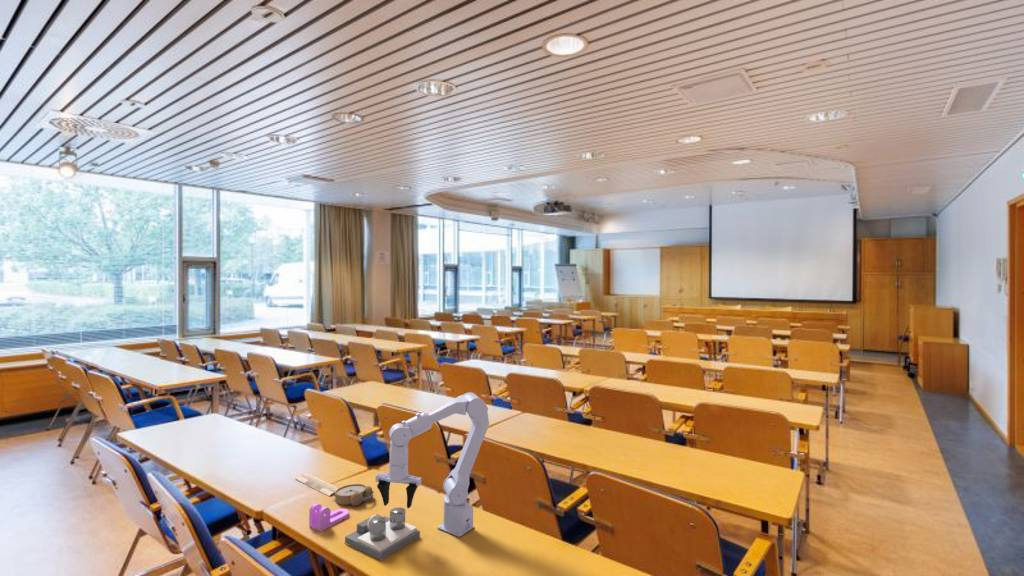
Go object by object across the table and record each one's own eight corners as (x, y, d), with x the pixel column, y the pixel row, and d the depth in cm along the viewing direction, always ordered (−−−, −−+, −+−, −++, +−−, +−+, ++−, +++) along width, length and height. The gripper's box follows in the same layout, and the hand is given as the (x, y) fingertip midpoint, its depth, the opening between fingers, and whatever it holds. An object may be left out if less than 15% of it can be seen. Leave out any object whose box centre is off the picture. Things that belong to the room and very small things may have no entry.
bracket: (320, 531, 156) (321, 510, 156) (309, 527, 159) (309, 505, 159) (352, 515, 168) (352, 495, 168) (341, 511, 170) (341, 491, 170)
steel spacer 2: (407, 523, 157) (407, 508, 157) (401, 531, 152) (401, 515, 152) (393, 522, 158) (394, 506, 158) (386, 529, 153) (387, 513, 153)
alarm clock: (349, 482, 188) (380, 483, 181) (351, 495, 187) (381, 496, 181) (327, 493, 177) (358, 495, 171) (328, 507, 177) (360, 509, 171)
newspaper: (343, 493, 186) (343, 488, 186) (326, 499, 180) (326, 494, 180) (309, 476, 200) (309, 472, 200) (292, 482, 194) (292, 477, 194)
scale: (419, 536, 155) (420, 516, 155) (380, 560, 141) (381, 538, 141) (384, 522, 163) (385, 503, 163) (344, 543, 150) (345, 522, 150)
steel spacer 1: (382, 531, 151) (382, 515, 151) (388, 537, 147) (387, 521, 147) (367, 536, 149) (366, 520, 149) (372, 542, 145) (372, 526, 145)
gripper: (425, 460, 157) (423, 502, 157) (382, 456, 159) (381, 497, 160) (417, 468, 150) (416, 512, 150) (372, 464, 152) (371, 507, 153)
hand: (397, 505), depth 154 cm, fingers open, 7 cm apart
